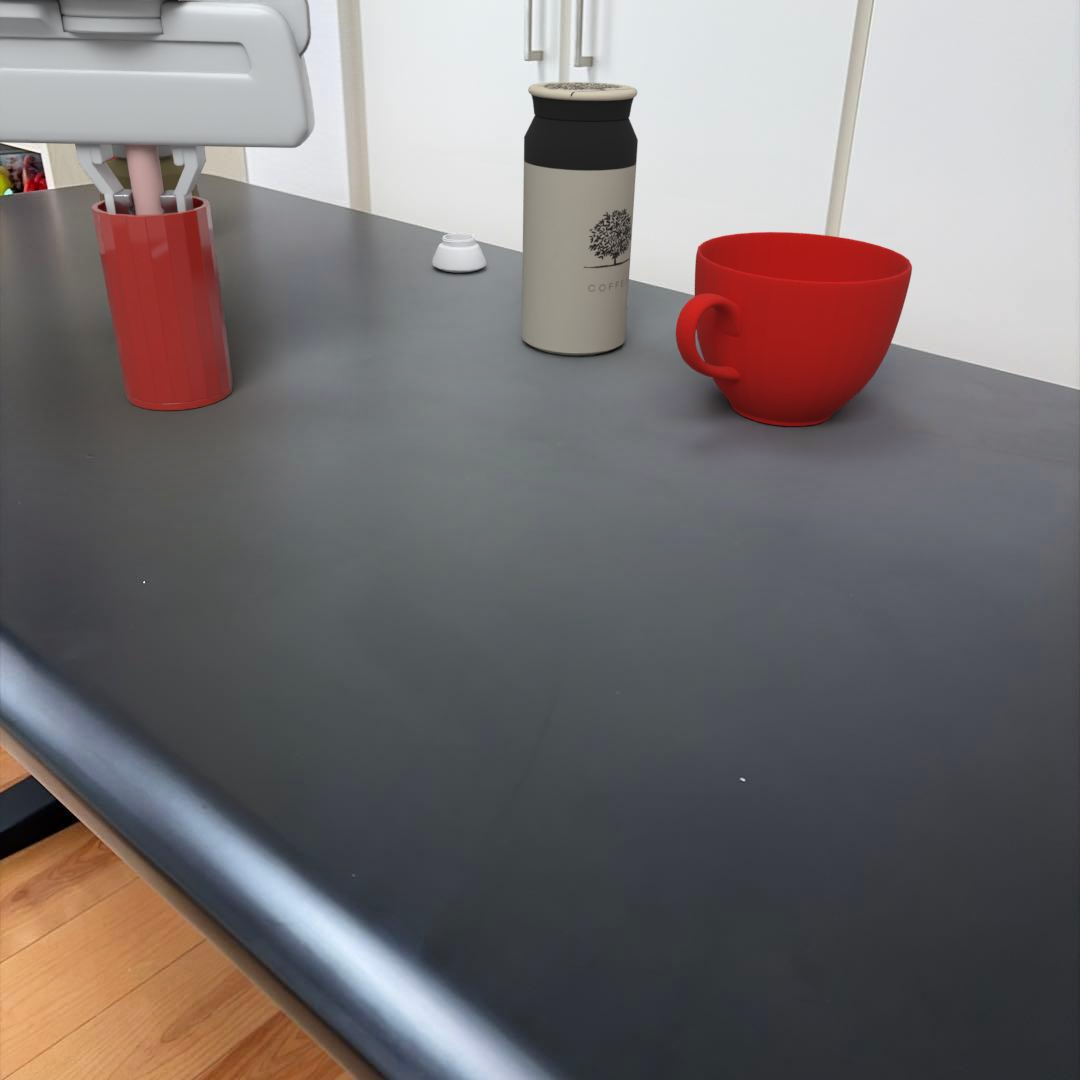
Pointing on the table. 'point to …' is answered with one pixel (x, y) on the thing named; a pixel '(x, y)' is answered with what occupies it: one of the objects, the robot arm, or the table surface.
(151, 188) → the straw
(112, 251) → the red tumbler
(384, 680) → the table surface
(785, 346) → the ceramic cup
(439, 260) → the lidless jar
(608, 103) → the travel mug
